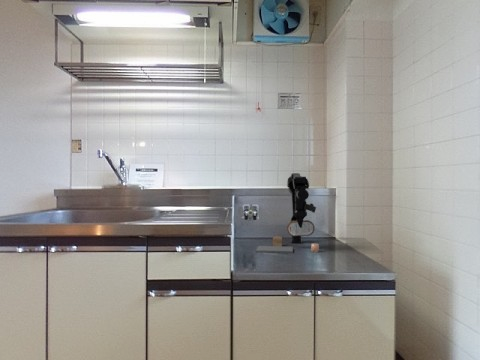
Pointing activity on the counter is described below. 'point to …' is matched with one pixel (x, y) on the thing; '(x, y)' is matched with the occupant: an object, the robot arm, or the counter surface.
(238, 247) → the counter surface
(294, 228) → the tin
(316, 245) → the small orange block
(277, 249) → the mat
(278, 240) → the walnut block
